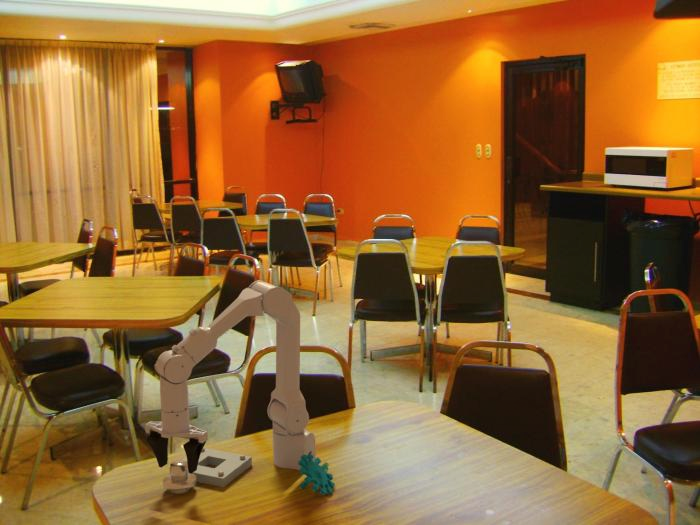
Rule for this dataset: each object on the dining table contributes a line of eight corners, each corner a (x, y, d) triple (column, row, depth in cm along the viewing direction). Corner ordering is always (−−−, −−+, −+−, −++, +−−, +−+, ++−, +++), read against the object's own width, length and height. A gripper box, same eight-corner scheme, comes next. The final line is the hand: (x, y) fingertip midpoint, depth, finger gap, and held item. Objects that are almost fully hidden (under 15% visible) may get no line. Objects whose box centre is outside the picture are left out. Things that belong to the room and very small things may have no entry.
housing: (252, 468, 175) (251, 454, 175) (223, 491, 164) (223, 476, 164) (201, 458, 181) (200, 444, 180) (170, 480, 170) (169, 465, 169)
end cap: (203, 488, 165) (202, 459, 164) (184, 502, 159) (182, 473, 158) (176, 482, 168) (175, 454, 167) (156, 496, 162) (155, 467, 160)
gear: (324, 497, 158) (295, 458, 160) (305, 513, 160) (277, 474, 162) (344, 482, 168) (317, 445, 171) (326, 497, 170) (300, 461, 172)
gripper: (134, 409, 159) (138, 470, 161) (192, 419, 153) (195, 482, 155) (155, 398, 165) (159, 457, 167) (212, 407, 159) (214, 468, 162)
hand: (177, 468), depth 162 cm, fingers open, 7 cm apart
